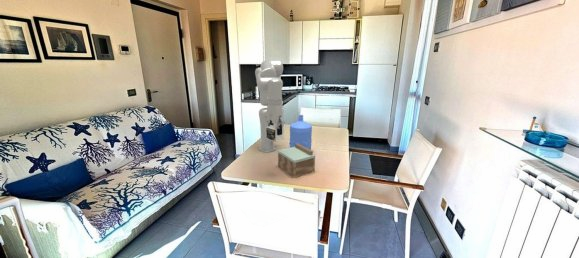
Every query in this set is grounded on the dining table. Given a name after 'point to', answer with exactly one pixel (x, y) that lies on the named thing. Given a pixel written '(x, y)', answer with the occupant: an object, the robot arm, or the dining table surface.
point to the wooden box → (296, 166)
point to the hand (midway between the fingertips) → (275, 132)
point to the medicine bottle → (274, 132)
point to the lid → (297, 153)
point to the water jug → (301, 133)
